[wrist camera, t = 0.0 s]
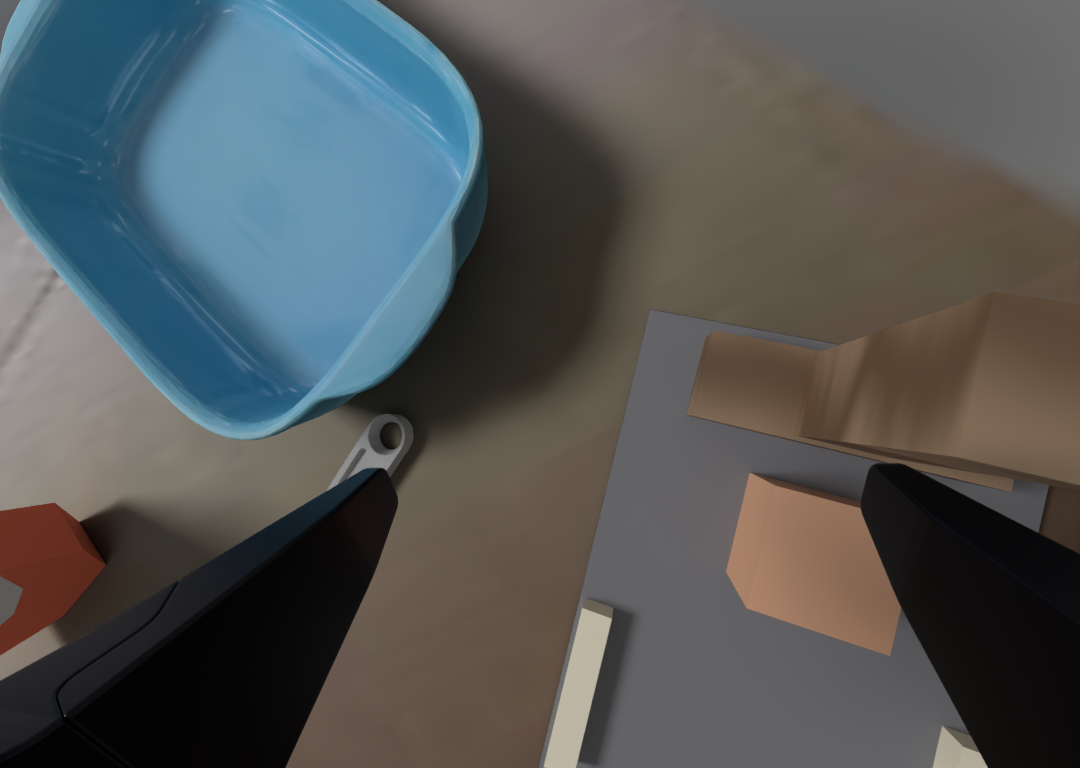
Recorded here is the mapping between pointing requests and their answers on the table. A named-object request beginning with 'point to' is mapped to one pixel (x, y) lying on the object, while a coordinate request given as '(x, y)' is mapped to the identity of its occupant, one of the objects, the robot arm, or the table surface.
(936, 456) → the wooden block on base
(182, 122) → the casserole dish
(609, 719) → the mat
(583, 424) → the table surface
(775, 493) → the terracotta block
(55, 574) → the french fries container
